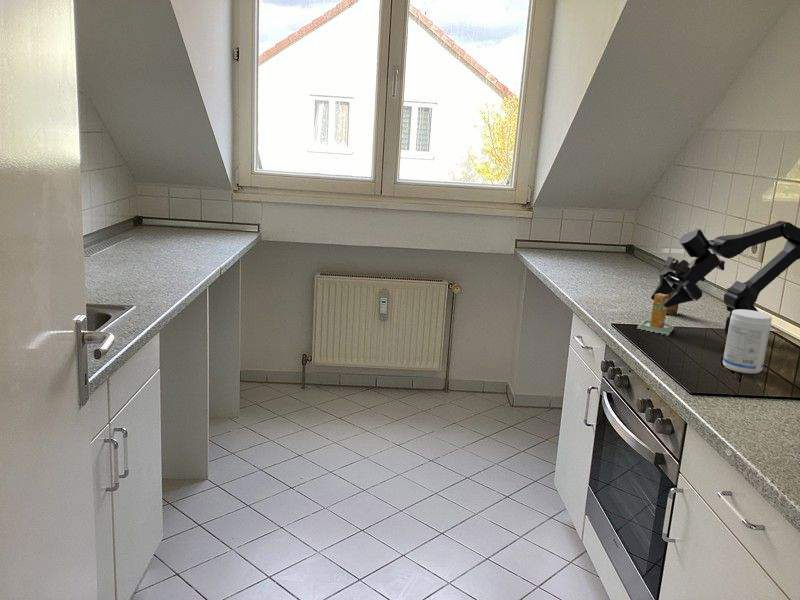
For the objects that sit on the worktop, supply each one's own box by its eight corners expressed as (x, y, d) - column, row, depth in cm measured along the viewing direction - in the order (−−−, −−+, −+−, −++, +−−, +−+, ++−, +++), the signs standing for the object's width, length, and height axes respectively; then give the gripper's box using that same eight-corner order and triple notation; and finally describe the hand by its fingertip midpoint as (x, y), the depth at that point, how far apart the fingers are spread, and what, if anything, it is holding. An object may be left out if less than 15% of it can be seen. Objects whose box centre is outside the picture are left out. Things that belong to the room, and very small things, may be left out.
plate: (672, 329, 229) (673, 324, 229) (668, 335, 221) (669, 330, 221) (642, 323, 233) (643, 319, 233) (637, 329, 225) (637, 324, 225)
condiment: (653, 309, 255) (659, 275, 252) (677, 311, 256) (683, 276, 253) (662, 315, 248) (668, 279, 245) (687, 316, 249) (693, 281, 246)
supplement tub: (736, 361, 200) (746, 307, 197) (769, 372, 192) (780, 317, 189) (713, 364, 195) (723, 310, 191) (746, 376, 187) (758, 319, 184)
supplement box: (648, 325, 227) (653, 293, 225) (654, 324, 229) (659, 292, 227) (658, 328, 224) (664, 296, 222) (664, 327, 227) (669, 295, 225)
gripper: (670, 243, 231) (630, 276, 232) (698, 253, 213) (655, 289, 214) (690, 270, 234) (651, 302, 235) (720, 282, 215) (677, 317, 217)
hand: (658, 302), depth 225 cm, fingers open, 9 cm apart
